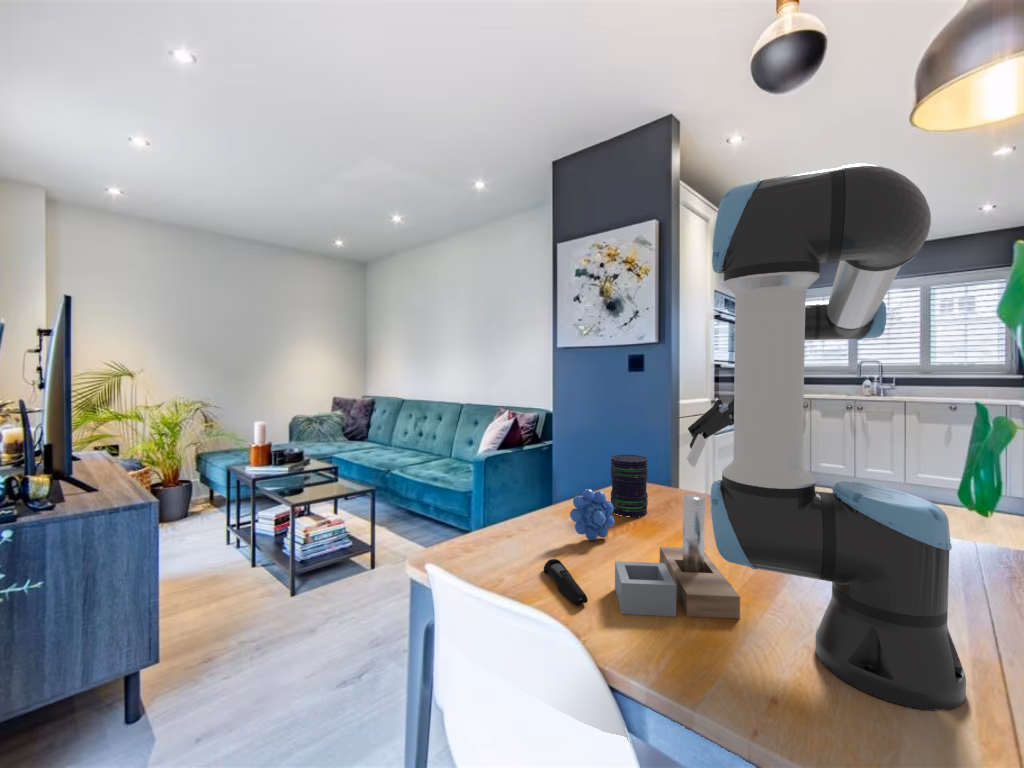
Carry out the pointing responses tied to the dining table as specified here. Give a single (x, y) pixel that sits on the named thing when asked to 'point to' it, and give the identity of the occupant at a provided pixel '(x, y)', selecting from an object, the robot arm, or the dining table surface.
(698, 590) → the beam
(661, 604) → the block
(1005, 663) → the dining table surface
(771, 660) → the dining table surface
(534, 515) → the dining table surface
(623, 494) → the dark blue ridged cylinder
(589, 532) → the blue lobed rosette
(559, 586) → the electric trimmer
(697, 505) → the axle
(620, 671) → the dining table surface
